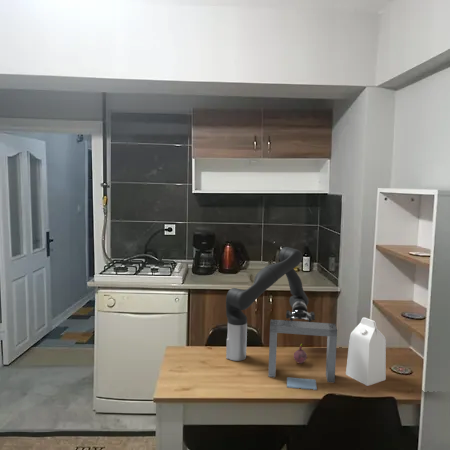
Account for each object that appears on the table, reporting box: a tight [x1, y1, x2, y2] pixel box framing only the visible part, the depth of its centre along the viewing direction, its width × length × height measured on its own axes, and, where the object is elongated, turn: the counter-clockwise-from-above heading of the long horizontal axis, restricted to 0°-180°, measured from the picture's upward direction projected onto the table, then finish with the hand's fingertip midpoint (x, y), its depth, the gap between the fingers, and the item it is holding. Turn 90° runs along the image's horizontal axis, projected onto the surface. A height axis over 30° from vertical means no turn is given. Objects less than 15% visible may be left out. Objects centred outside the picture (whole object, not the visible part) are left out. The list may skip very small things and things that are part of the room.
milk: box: [345, 317, 387, 387], centre depth 183 cm, size 12×12×26 cm
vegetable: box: [293, 343, 308, 365], centre depth 196 cm, size 6×6×10 cm
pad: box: [286, 376, 318, 391], centre depth 177 cm, size 12×8×1 cm, turn 82°
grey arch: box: [267, 319, 338, 384], centre depth 184 cm, size 28×8×23 cm, turn 82°
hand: (300, 319), depth 208 cm, fingers open, 8 cm apart
